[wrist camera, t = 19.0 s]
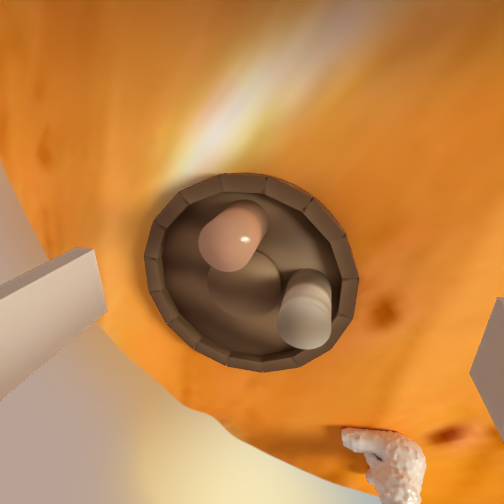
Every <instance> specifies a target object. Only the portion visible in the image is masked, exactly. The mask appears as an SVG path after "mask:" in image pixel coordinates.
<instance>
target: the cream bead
mask: <svg viewBox="0 0 504 504" xmlns="http://www.w3.org/2000/svg"><path fill="white" fill-rule="evenodd" d="M277 330H278V333H279V335H280V336H281V338H282V339H283V340H284V341H285V342H286V343H288V344H289V345H291V346H293V347H296V348H299V349H307V350H308V349H315V348H318V347H320V346H322V345H323V344H324V343H326V341H327V340H328V339H329V337H330V334H331V283H330V281H329V279H328V278H327V276H326V275H325V274H323V273H322V272H320V271H318V270H316V269H311V268H305V269H301V270H298V271H296V272H295V273H293V274H292V275H291V277H290V278H289V280H288V283H287V287H286V290H285V294H284V298H283V301H282V305H281V308H280V312H279V316H278V319H277Z"/></svg>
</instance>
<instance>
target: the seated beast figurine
mask: <svg viewBox="0 0 504 504" xmlns="http://www.w3.org/2000/svg"><path fill="white" fill-rule="evenodd" d="M341 434H342V441H343V446H344V447H346V448H348V449H350V450H352V451H353V452H355V453H356V452H358V453H362V452H364V457H365V458H366V462H367V463H368V464H369V466H370V468H369V469H368V470H367V471H366V478H367V481H368V482H369V484H372V485H373V486H374V487H375V489H376V491H377V492H378V493H379V497H380V499H381V501H382V504H420V503H421V497H420V492H421V489H422V488H421V485H422V483H423V477H424V473H425V469H426V467H427V465H426V462H425V461H426V457H425V455H424V454H423V453H422V449H421V447H420V446H418V444H417V443H416V442H414V441H413V440H411V439H410V438H408V437H407V436H404V435H402V434H401V433H398V432H392V431H387V432H386V431H380V430H370V429H360V428H352V427H346V428H344V429H342V430H341Z"/></svg>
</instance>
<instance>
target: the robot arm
mask: <svg viewBox="0 0 504 504" xmlns="http://www.w3.org/2000/svg"><path fill="white" fill-rule="evenodd" d="M107 311H108V310H107V306H106V301H105V297H104V292H103V288H102V283H101V279H100V274H99V270H98V265H97V261H96V256H95V252H94V249H88V248H79V247H76V248H74V249H72V250H70V251H68V252H66V253H64V254H62V255H60V256H58V257H56V258H54V259H52V260H50V261H48V262H46V263H44V264H42V265H40V266H38V267H36V268H34V269H32V270H30V271H28V272H26V273H24V274H22V275H20V276H18V277H16V278H14V279H12V280H10V281H8V282H6V283H4V284H2V285H0V401H1V400H2V399H3V398H4V397H5V396H7V395H8V394H9V393H10V392H11V391H12V390H14V389H15V388H16V387H17V386H19V385H20V384H21V383H22V382H23V381H25V379H27V378H28V377H29V376H30V375H32V374H33V373H34V372H35V371H37V370H38V369H39V368H40V367H41V366H42V365H44V364H45V363H46V362H47V361H48V360H50V359H51V358H52V357H53V356H54V355H56V354H57V353H58V352H59V351H60V350H62V349H63V348H64V347H65V346H66V345H68V344H69V343H70V342H71V341H72V340H74V339H75V338H76V337H77V336H78V335H79V334H81V333H82V332H83V331H84V330H86V329H87V328H88V327H89V326H90V325H92V323H94V322H95V321H96V320H98V319H99V318H100V317H101V316H102V315H104V314H105V313H106V312H107ZM470 375H471V377H472V379H473V381H474V383H475V385H476V387H477V389H478V391H479V393H480V395H481V397H482V399H483V402H484V404H485V406H486V408H487V410H488V412H489V414H490V416H491V418H492V420H493V422H494V424H495V426H496V428H497V430H498V432H499V434H500V436H501V438H502V440H503V442H504V298H501V297H497V300H496V303H495V305H494V308H493V311H492V313H491V316H490V319H489V321H488V324H487V327H486V329H485V332H484V335H483V338H482V340H481V343H480V346H479V348H478V351H477V354H476V356H475V359H474V362H473V365H472V367H471V370H470Z"/></svg>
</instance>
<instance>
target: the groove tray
mask: <svg viewBox="0 0 504 504" xmlns="http://www.w3.org/2000/svg"><path fill="white" fill-rule="evenodd" d="M243 199H247V200H252V201H254V202H256V203H258V204H259V205H261V206H262V207H263V209H264V210H265V212H266V214H267V216H268V229H267V232H266V233H265V235H264V237H263V239H262V240H261V242H260V244H259V245H258V247H257V249H256V250H255V252H254V254H253V255H252V257H251V259H250V260H249V262H248V263H247V264H246V265H245V266H244V267H243V268H242V269H240V270H237V271H233V272H224V271H220V270H217V269H215V268H213V267H212V266H210V265H209V264H208V263H207V262H206V261H205V260H204V258H203V257H202V255H201V253H200V250H199V244H198V240H199V235H200V232H201V230H202V229H203V228H204V226H205V225H207V224H208V223H209V222H210V221H212V220H213V219H214V218H215V217H216V216H218V215H219V214H220V213H221V212H223V211H224V210H225V209H226V208H227V207H229V206H230V205H231V204H232V203H234V202H236V201H238V200H243ZM144 261H145V268H146V275H147V282H148V289H149V291H150V292H149V293H150V295H151V296H152V298H153V300H154V302H155V304H156V306H157V307H158V309H159V311H160V313H161V315H162V317H163V319H164V320H165V322H166V323H168V324H167V325H168V326H169V327H170V328H171V329H172V330H173V331H174V332H175V333H177V334H178V335H179V336H180V337H181V338H182V339H183V340H184V341H185V342H186V343H187V344H188V345H189V346H190V347H191V348H192V349H193V348H194V347H195V348H194V350H195V351H197V352H199V353H201V354H203V355H205V356H207V357H209V358H211V359H213V360H215V361H217V362H219V363H221V364H223V365H225V366H226V364H227V366H228V367H233V368H239V369H244V370H250V371H256V372H261V373H262V371H263V373H265V372H271V371H278V370H285V369H292V368H299V367H301V366H303V365H304V364H306V363H308V362H310V361H311V360H313V359H315V358H317V357H318V356H320V355H322V354H324V353H325V352H327V351H329V350H331V349H332V347H333V346H334V345H335V343H336V342H337V340H338V339H339V338H340V336H341V335H342V333H343V332H344V331H345V329H346V328H347V326H348V325H349V324H350V322H351V321H352V319H353V316H354V310H355V303H356V297H357V290H358V284H359V275H358V271H357V268H356V264H355V261H354V258H353V254H352V250H351V247H350V245H349V242H348V239H347V236H346V233H345V231H344V230H343V229H342V228H341V226H340V225H339V223H338V222H337V220H336V219H335V218H334V216H333V215H332V214H331V213H330V211H329V210H328V209H327V208H326V207H325V206H324V205H323V204H322V203H321V202H319V201H318V200H317V199H316V198H315V197H313V196H312V195H310V194H309V193H308V192H306V191H305V190H303V189H301V188H299V187H297V186H296V185H294V184H292V183H289V182H287V181H284V180H282V179H279V178H276V177H272V176H268V175H264V174H255V173H232V174H226V173H224V174H220V175H218V176H215V177H213V178H211V179H208V180H205V181H203V182H201V183H198V184H196V185H193V186H191V187H189V188H186V189H184V190H182V191H180V192H178V193H177V195H176V196H175V197H174V198H173V199H172V200H171V201H170V203H169V204H168V205H167V206H166V207H165V208H164V209H163V210H162V212H161V213H160V214H159V215H158V216H157V217H156V218H155V220H154V221H153V224H152V228H151V232H150V235H149V239H148V243H147V246H146V250H145V253H144ZM305 268H311V269H316V270H318V271H320V272H322V273H323V274H325V275H326V276H327V278H328V279H329V281H330V283H331V334H330V337H329V339H328V340H327V341H326V343H324V344H323V345H322V346H320V347H318V348H315V349H308V350H307V349H299V348H296V347H293V346H291V345H289V344H288V343H286V342H285V341H284V340H283V339H282V338H281V336H280V335H279V333H278V330H277V319H278V316H279V312H280V308H281V305H282V301H283V298H284V294H285V290H286V287H287V283H288V280H289V278H290V277H291V275H292V274H293V273H295V272H296V271H298V270H301V269H305Z"/></svg>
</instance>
